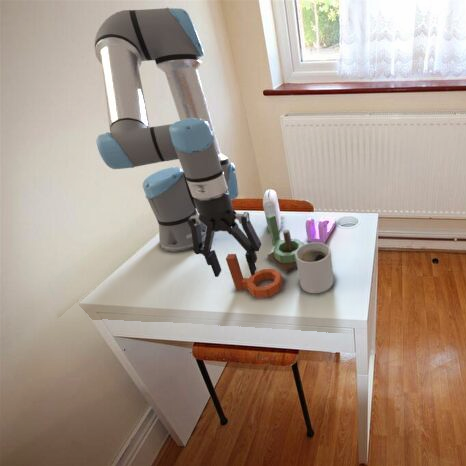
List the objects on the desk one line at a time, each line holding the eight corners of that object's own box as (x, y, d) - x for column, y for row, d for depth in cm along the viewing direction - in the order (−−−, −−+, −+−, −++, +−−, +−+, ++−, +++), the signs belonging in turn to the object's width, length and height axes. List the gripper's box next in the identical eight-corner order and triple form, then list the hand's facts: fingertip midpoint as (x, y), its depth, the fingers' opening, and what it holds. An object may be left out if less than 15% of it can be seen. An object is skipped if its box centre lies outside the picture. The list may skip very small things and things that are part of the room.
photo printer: (281, 232, 109) (274, 199, 102) (268, 233, 109) (260, 200, 102) (282, 217, 118) (276, 185, 111) (270, 218, 117) (263, 187, 110)
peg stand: (267, 259, 97) (261, 232, 91) (294, 244, 102) (290, 218, 97) (287, 273, 90) (281, 245, 85) (315, 257, 96) (311, 230, 91)
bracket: (324, 243, 102) (321, 224, 98) (307, 241, 104) (304, 222, 100) (337, 222, 112) (335, 204, 109) (322, 220, 114) (320, 202, 110)
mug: (320, 298, 82) (315, 267, 76) (291, 285, 86) (285, 255, 81) (344, 273, 89) (341, 243, 84) (316, 263, 94) (312, 234, 88)
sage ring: (310, 253, 95) (305, 222, 90) (286, 266, 91) (280, 235, 85) (286, 238, 103) (280, 209, 97) (263, 250, 98) (256, 220, 92)
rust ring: (284, 275, 90) (277, 244, 84) (278, 297, 83) (271, 264, 77) (241, 277, 90) (232, 246, 85) (232, 299, 83) (221, 267, 77)
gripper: (154, 204, 69) (189, 284, 81) (254, 198, 68) (274, 280, 80) (171, 188, 75) (201, 265, 87) (262, 184, 74) (279, 261, 87)
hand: (236, 272), depth 84 cm, fingers open, 9 cm apart
